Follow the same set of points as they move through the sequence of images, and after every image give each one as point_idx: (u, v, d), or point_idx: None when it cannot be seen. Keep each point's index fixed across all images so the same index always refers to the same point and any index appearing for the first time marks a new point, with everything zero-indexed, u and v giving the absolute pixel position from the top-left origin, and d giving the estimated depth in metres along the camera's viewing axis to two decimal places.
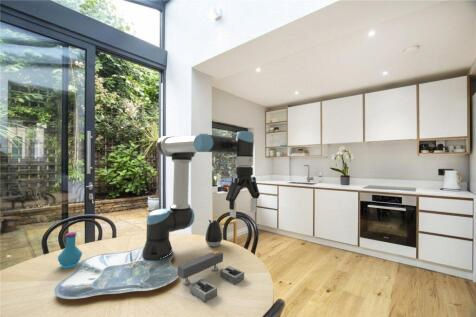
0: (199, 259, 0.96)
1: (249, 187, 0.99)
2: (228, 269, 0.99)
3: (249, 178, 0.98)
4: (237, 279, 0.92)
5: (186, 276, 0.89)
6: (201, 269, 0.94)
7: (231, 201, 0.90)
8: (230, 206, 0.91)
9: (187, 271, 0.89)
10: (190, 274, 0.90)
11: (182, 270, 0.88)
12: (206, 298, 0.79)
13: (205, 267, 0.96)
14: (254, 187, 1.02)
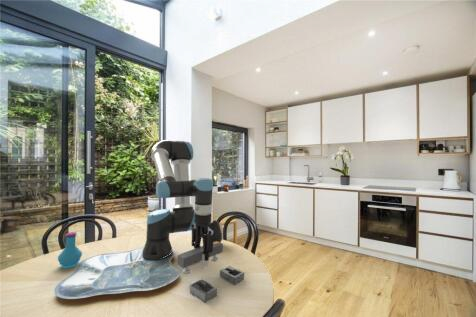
0: (199, 249, 0.97)
1: None
2: (228, 269, 0.99)
3: (204, 226, 0.95)
4: (237, 279, 0.92)
5: (186, 265, 0.89)
6: (201, 259, 0.95)
7: (194, 247, 1.00)
8: None
9: (187, 261, 0.90)
10: (190, 263, 0.91)
11: (182, 259, 0.89)
12: (206, 298, 0.79)
13: None
14: None
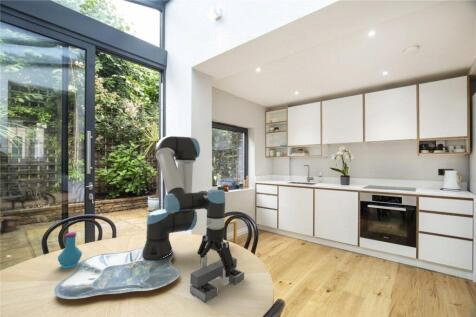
0: (213, 266, 0.90)
1: None
2: None
3: (216, 241, 0.90)
4: (237, 279, 0.92)
5: (200, 285, 0.83)
6: (215, 276, 0.89)
7: (200, 255, 0.97)
8: None
9: (201, 280, 0.83)
10: (204, 282, 0.84)
11: (196, 278, 0.82)
12: (206, 298, 0.79)
13: (219, 274, 0.90)
14: None
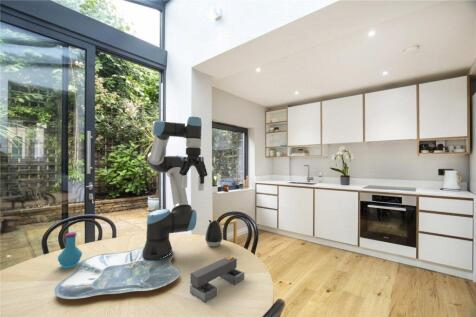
0: (213, 266, 0.90)
1: None
2: None
3: (194, 157, 1.09)
4: (237, 279, 0.92)
5: (200, 285, 0.83)
6: (215, 276, 0.89)
7: (181, 174, 1.17)
8: None
9: (201, 280, 0.83)
10: (204, 282, 0.84)
11: (196, 278, 0.82)
12: (206, 298, 0.79)
13: (219, 274, 0.90)
14: None
